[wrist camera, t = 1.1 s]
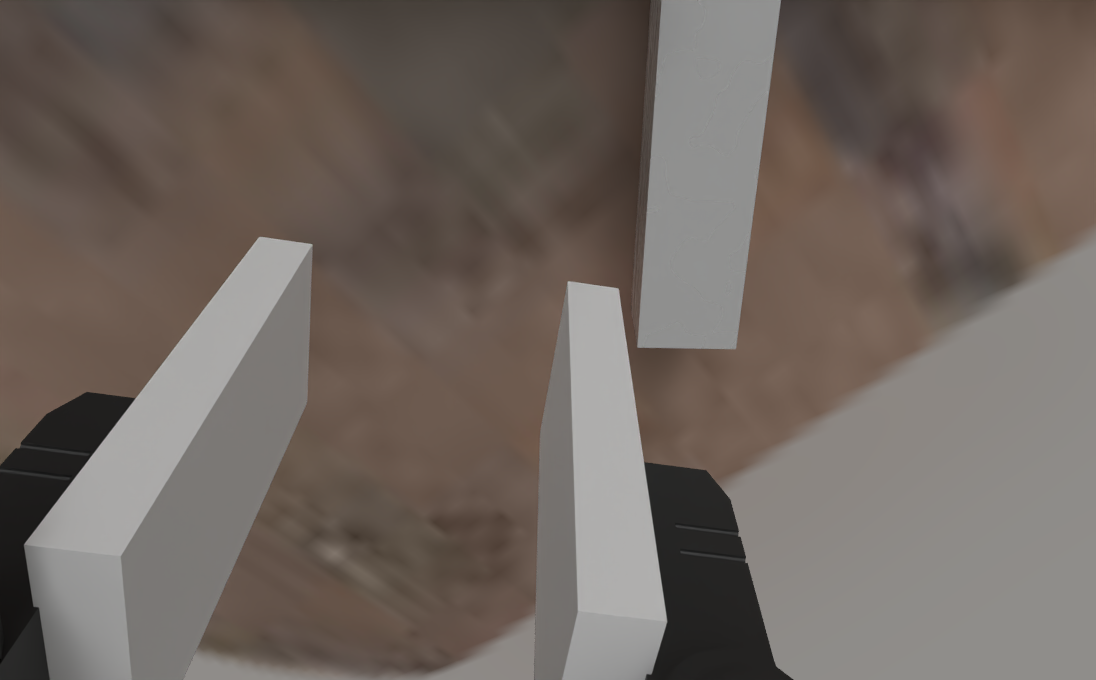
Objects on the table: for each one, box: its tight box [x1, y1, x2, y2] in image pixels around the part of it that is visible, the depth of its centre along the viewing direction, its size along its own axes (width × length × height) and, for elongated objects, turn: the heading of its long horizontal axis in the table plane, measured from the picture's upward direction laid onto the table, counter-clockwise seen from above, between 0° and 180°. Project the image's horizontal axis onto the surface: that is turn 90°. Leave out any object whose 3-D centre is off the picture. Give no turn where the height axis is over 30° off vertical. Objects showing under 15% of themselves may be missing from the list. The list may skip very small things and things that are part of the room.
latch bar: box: [631, 0, 781, 349], centre depth 23 cm, size 16×4×3 cm, turn 179°
